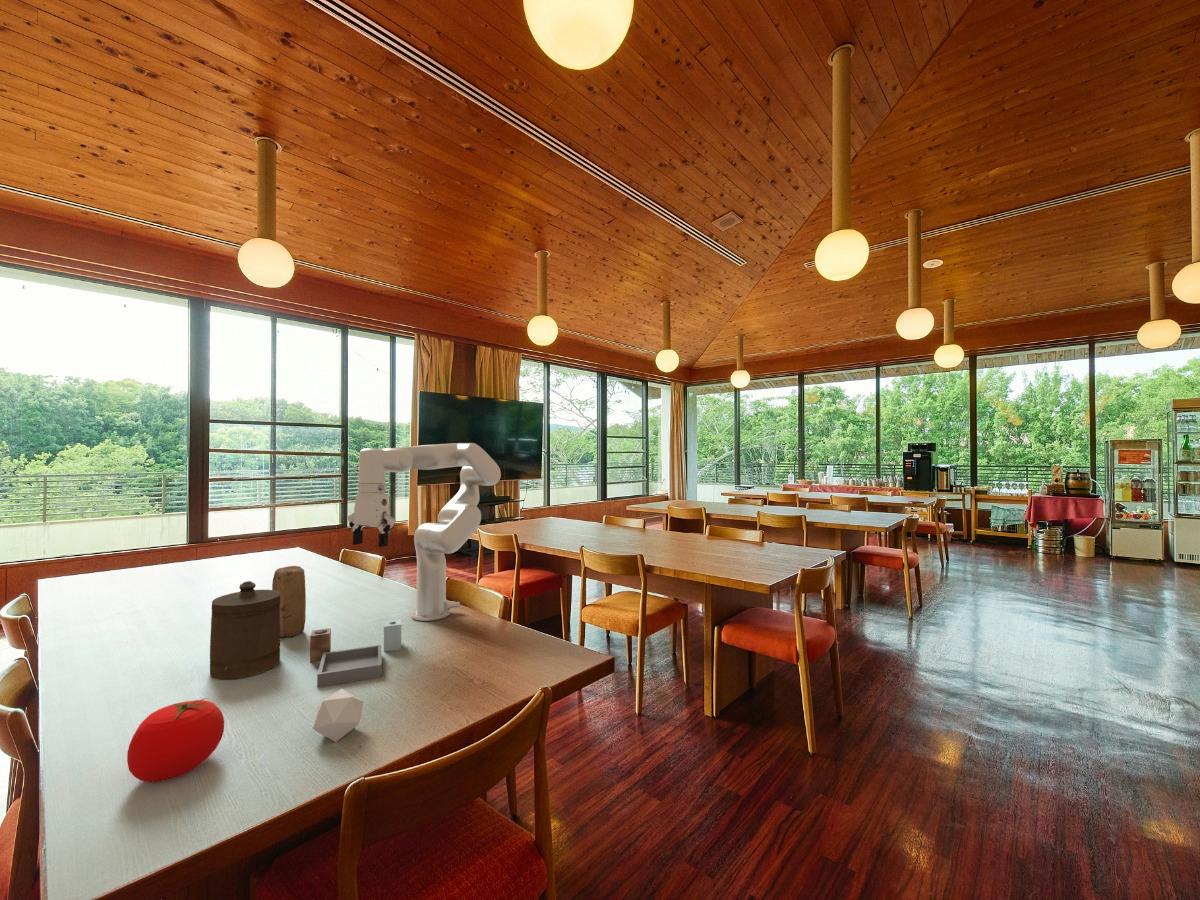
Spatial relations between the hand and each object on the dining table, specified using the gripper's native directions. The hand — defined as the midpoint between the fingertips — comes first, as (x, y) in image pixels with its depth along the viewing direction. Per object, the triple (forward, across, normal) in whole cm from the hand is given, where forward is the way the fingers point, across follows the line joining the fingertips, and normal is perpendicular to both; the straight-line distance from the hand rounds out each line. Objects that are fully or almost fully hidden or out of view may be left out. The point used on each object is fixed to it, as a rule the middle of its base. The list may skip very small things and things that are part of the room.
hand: (370, 545), depth 151 cm
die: (+28, -34, +43) cm, 62 cm away
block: (+28, +25, +6) cm, 38 cm away
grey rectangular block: (+28, -13, +4) cm, 31 cm away
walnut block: (+28, 0, +17) cm, 32 cm away
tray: (+28, -14, +20) cm, 37 cm away
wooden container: (+28, +13, +28) cm, 42 cm away
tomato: (+29, -17, +61) cm, 70 cm away
